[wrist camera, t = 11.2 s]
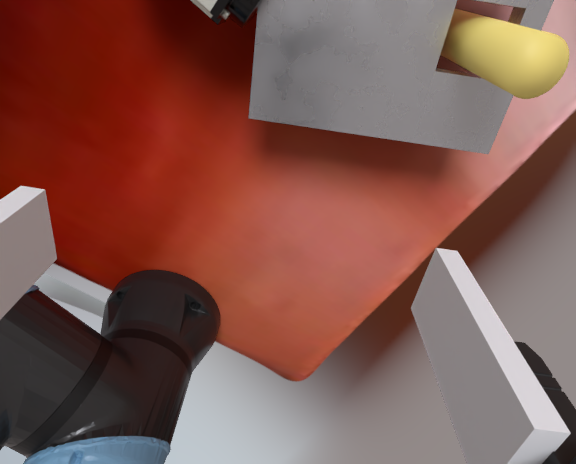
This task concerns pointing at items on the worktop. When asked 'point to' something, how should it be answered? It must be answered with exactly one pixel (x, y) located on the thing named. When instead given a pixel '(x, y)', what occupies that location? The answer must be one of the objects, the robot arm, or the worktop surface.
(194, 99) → the worktop surface
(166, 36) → the worktop surface
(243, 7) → the pneumatic valve
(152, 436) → the robot arm
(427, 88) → the gray slab
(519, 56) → the pin
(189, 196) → the worktop surface
